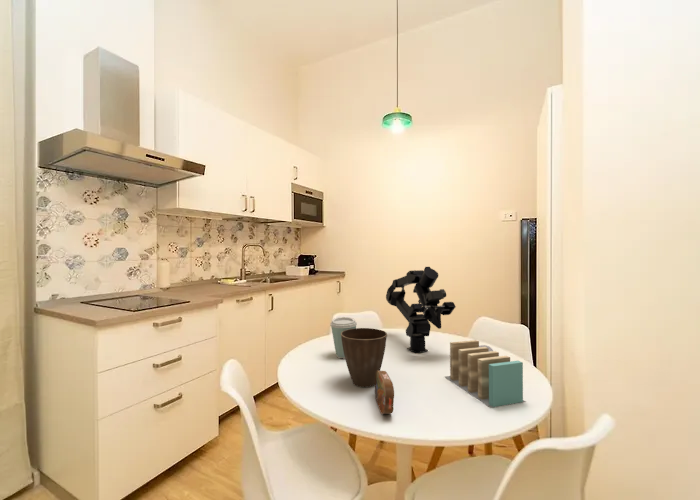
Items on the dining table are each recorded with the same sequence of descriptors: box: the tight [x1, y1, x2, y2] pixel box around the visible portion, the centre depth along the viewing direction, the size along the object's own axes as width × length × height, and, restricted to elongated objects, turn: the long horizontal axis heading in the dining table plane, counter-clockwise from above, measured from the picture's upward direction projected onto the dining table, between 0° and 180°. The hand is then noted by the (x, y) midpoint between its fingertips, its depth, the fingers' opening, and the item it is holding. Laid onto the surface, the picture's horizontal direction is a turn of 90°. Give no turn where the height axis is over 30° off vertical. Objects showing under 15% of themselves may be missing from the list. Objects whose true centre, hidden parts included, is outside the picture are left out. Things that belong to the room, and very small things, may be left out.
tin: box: [374, 370, 395, 415], centre depth 86 cm, size 15×3×8 cm, turn 5°
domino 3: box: [468, 350, 500, 393], centre depth 95 cm, size 2×10×11 cm, turn 107°
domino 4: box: [478, 355, 511, 399], centre depth 91 cm, size 2×10×11 cm, turn 107°
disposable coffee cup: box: [330, 316, 357, 360], centre depth 127 cm, size 11×11×15 cm
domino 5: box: [489, 360, 524, 408], centre depth 86 cm, size 2×10×11 cm, turn 106°
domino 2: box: [459, 347, 489, 386], centre depth 99 cm, size 2×10×11 cm, turn 106°
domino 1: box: [449, 339, 480, 381], centre depth 104 cm, size 2×10×12 cm, turn 107°
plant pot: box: [341, 327, 388, 388], centre depth 101 cm, size 15×15×16 cm
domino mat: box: [444, 375, 527, 409], centre depth 96 cm, size 22×12×1 cm, turn 16°
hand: (440, 328), depth 118 cm, fingers closed
